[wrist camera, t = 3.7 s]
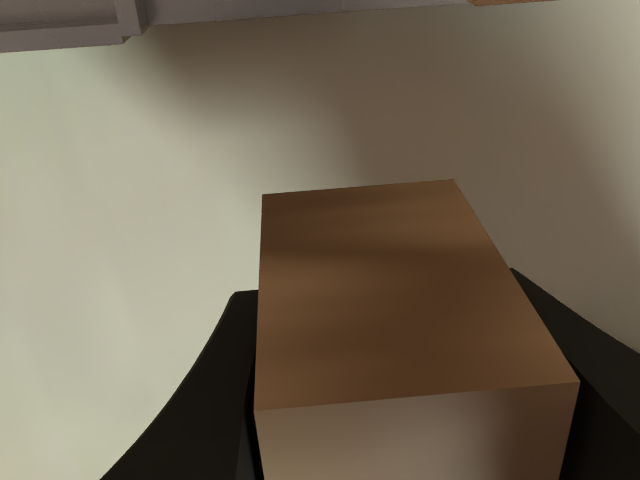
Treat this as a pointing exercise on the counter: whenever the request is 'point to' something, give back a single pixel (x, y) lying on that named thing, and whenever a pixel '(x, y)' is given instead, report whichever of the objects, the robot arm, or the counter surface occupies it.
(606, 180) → the counter surface
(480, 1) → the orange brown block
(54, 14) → the rail
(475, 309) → the walnut block
